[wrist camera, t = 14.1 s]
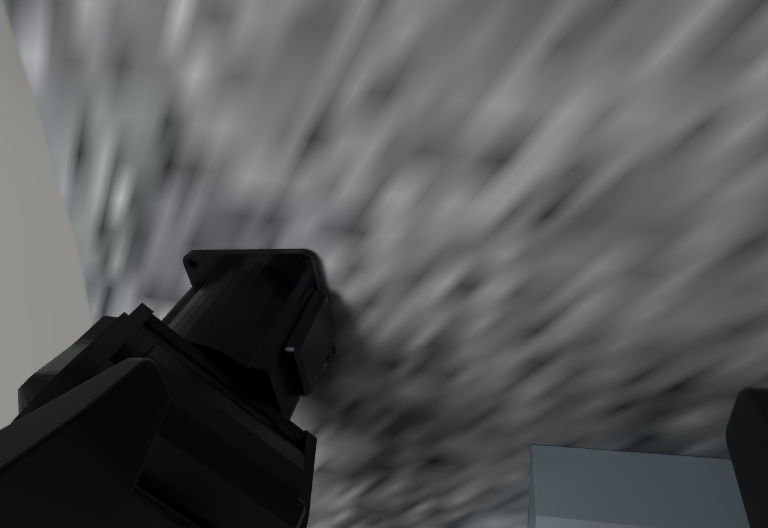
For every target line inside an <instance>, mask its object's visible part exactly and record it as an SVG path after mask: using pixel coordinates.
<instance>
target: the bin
mask: <svg viewBox="0 0 768 528" xmlns="http://www.w3.org/2000/svg"><path fill="white" fill-rule="evenodd" d="M528 528H750V527H749V523H748V519H747V516H746V512H745V508H744V505H743V501H742V498H741V494H740V490H739V487H738V483H737V480H736V476H735V472H734V469H733V465H732V462H731V459H719V458H706V457H693V456H679V455H666V454H652V453H639V452H625V451H612V450H598V449H585V448H571V447H558V446H545V445H531V466H530V488H529V511H528Z"/></svg>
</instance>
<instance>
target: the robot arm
mask: <svg viewBox="0 0 768 528" xmlns="http://www.w3.org/2000/svg"><path fill="white" fill-rule="evenodd" d="M299 258H303V259H305V260H306V261H307V263H303V262H302V261H300V259H299ZM192 259H194V260H195V261H196V262H197V263H195V262H194V261H193V260H192ZM183 264H184V266H185V269H186V272H187V274H188V277H189V279H190V282H191V285H192V287H191V289H190V290H189V291H188V292H187V293H186V294H185V295H184V296H183V297H182V299H181V300H180V301H179V302H178V303H177V304H176V305H175V306H174V307H173V308H172V310H171V311H170V312H169V313H168V314H167V315H166V316H165V317H164V318H163V320H162V321H161V320H160V319H158V318H157V317H156V316H154V315H153V314H152V313H153V312H154V311H152V310H151V309H150V308H148V307H147V306H146V305H145V304H143V303H141V304H140V305H139V306H138V307H137V308H136V309H135V310H134V311H133V312H132V313H131V314H130V315H128V314H126V313H125V312H124V313H123V314H121V315H120V316H119V317H110V316H103V317H102V318H101V319H100V320H99V321H98V322H97V323H96V324H94V325H93V326H92V327H91V328H90V329H89V330H88V331H87V332H86V333H85V334H84V335H83V336H82V337H80V339H78V340H77V341H76V342H75V343H74V344H73V345H71V346H70V347H69V348H68V349H66V350H65V351H64V352H62V353H61V354H60V355H58V356H57V357H56V358H54V359H53V360H52V361H50V362H49V363H48V364H46V365H45V366H44V367H42V368H41V369H40V370H38V371H37V372H36V373H34V374H33V375H32V376H31V377H30V378H29V379H28V380H27V381H26V382H25V383H24V384H23V385H22V386H21V387H20V388H19V389H18V404H19V415H18V416H17V417H16V418H15V419H14V420H13V421H12V423H11V424H10V425H8V426H6V427H5V428H3V429H1V430H0V528H306V527H307V523H308V517H309V510H310V500H311V491H312V481H313V472H314V462H315V452H316V443H317V438H316V437H315V436H314V435H312V434H311V433H310V432H308V431H307V430H305V431H303V430H302V429H301V428H299V427H298V426H297V425H295V424H294V423H293V422H292V421H290V419H291V416H292V414H293V412H294V410H295V407H296V405H297V403H298V400H299V398H300V397H308V396H309V395H310V394H311V393H312V392H313V390H314V387H315V385H316V383H317V380H318V378H319V375H320V373H321V371H322V368H323V366H324V363H330V362H332V361H333V359H334V357H335V354H336V350H335V345H334V339H335V337H336V331H335V327H334V322H333V318H332V313H331V309H330V304H329V299H328V295H327V294H326V293H325V292H324V291H322V287H321V283H320V278H319V274H318V269H317V265H316V260H315V257H314V255H313V254H312V253H311V252H310V251H308V250H306V249H246V250H192V251H190V252H188V253H187V254H186V255H185V256H184V258H183ZM726 442H727V447H728V451H729V454H730V458H731V462H732V465H733V469H734V472H735V476H736V480H737V483H738V487H739V490H740V494H741V498H742V501H743V505H744V508H745V512H746V516H747V519H748V523H749V527H750V528H768V387H750V386H749V387H744V388H742V389H741V390H740V391H739V393H738V395H737V398H736V401H735V404H734V407H733V410H732V413H731V415H730V418H729V421H728V424H727V428H726Z"/></svg>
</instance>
